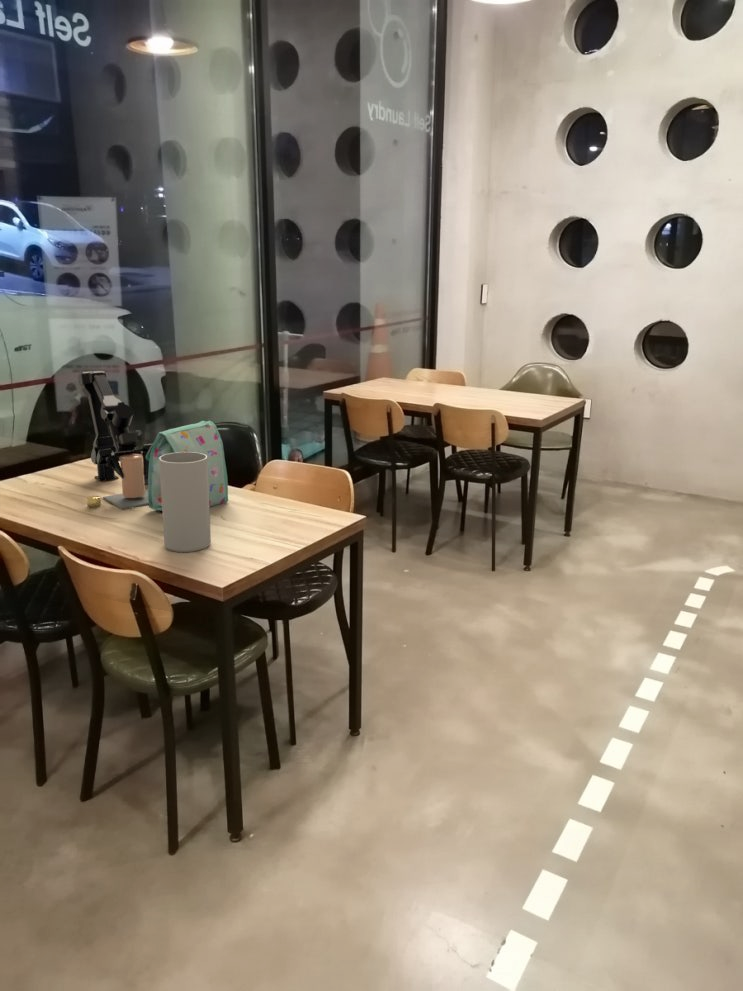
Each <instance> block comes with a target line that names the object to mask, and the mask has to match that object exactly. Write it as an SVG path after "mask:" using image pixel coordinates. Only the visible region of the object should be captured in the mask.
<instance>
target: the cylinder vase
mask: <svg viewBox="0 0 743 991" xmlns="http://www.w3.org/2000/svg"><path fill="white" fill-rule="evenodd" d="M159 464H160V481H161V497H162V526H163V542H164V543H163V544H164V547H165V548H166V549H167V550H168V551H171V552H172V551H173V552H178V553H190V552H191V553H192V552H198V551H201V550H204V549H206V548H208V547H209V545H210V544H211V542H212V538H211V515H210V507H209V487H208V464H207V455H205V454H202V453H196V452H176V453H169V454H165V455H162V456H161V457H159Z"/></svg>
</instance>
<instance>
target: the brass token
mask: <svg viewBox="0 0 743 991" xmlns="http://www.w3.org/2000/svg"><path fill="white" fill-rule="evenodd" d="M86 500H87V501H86V503H87V508H88V507H89V508H88V509H98V508H97V507H99V508H101V507H102V502H101V496H100V495H91V496H87V497H86ZM100 506H101V507H100Z"/></svg>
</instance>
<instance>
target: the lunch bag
mask: <svg viewBox="0 0 743 991" xmlns="http://www.w3.org/2000/svg"><path fill="white" fill-rule="evenodd" d="M151 444H152V446H151V447H150V449H149V451H148V453H147V455H146V460H148V461H149V472H148V484H147V490H148V504H149V505H148V507H149V508H150V509H151V510H153V511H162V497H161V481H160V464H159V457H161V456H162V455H165V454H169V453H176V452H196V453H202V454H205V455H207V464H208V487H209V508H210V507H214V506H217V505H221V504H225V503H228V501H229V482H228V481H229V480H228V473H227V472H228V471H227V466H226V460H225V450H224V444H223V439H222V438H221V434H220V432H219V430H218V427H217V425H216V424H215V423H214V422H213V421H211V420H208V421H205V420H201V421H199V422H197V423H191V424H187V425H183V426H178V427H174V428H169V429H167V430H162V431H159V432H158V433H157V435H156V437H155V439H154V441H153V443H151Z"/></svg>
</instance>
